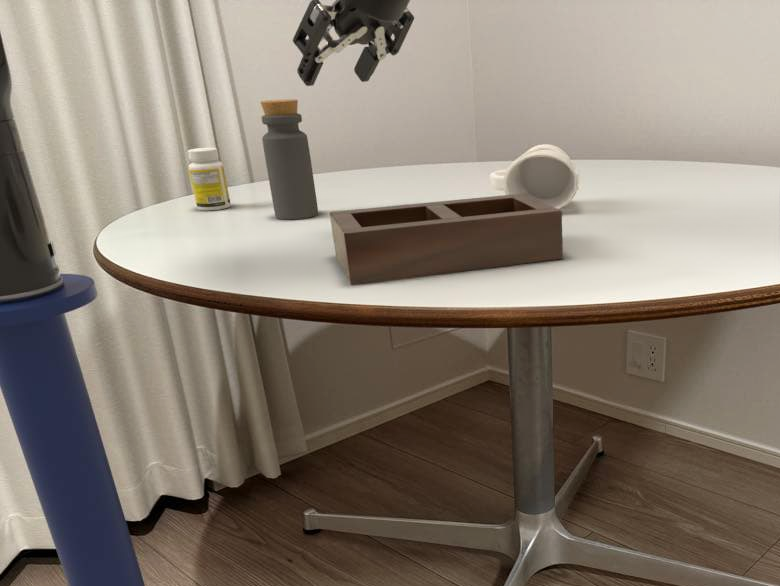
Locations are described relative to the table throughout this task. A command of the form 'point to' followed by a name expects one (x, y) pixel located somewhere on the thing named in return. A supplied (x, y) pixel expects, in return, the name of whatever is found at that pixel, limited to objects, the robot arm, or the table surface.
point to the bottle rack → (445, 237)
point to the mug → (540, 176)
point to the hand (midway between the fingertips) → (333, 78)
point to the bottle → (288, 161)
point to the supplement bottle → (208, 179)
